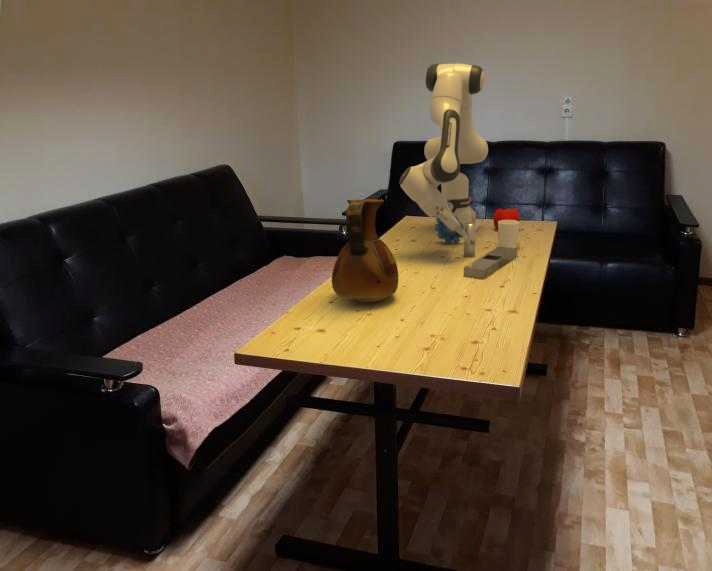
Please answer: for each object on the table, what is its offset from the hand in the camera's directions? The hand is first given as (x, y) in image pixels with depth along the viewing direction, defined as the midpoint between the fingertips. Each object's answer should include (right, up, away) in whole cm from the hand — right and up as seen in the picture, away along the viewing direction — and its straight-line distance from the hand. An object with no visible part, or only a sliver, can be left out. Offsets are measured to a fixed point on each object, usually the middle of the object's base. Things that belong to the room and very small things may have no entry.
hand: (462, 231), depth 247 cm
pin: (+3, -9, +3) cm, 10 cm away
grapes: (-2, -3, +20) cm, 21 cm away
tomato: (+25, +4, +42) cm, 49 cm away
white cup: (+19, -5, +13) cm, 24 cm away
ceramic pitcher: (-35, -23, -42) cm, 59 cm away
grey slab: (+8, -13, -11) cm, 18 cm away
